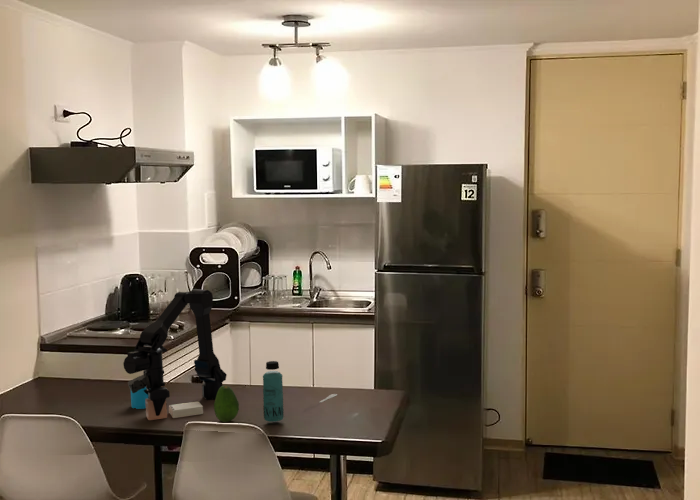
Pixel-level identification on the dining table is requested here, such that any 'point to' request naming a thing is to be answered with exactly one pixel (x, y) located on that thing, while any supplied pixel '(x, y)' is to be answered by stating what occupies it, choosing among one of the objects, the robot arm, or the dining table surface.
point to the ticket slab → (185, 409)
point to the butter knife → (329, 397)
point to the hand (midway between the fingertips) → (156, 413)
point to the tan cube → (151, 411)
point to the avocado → (226, 404)
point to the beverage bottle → (272, 393)
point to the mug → (139, 399)
